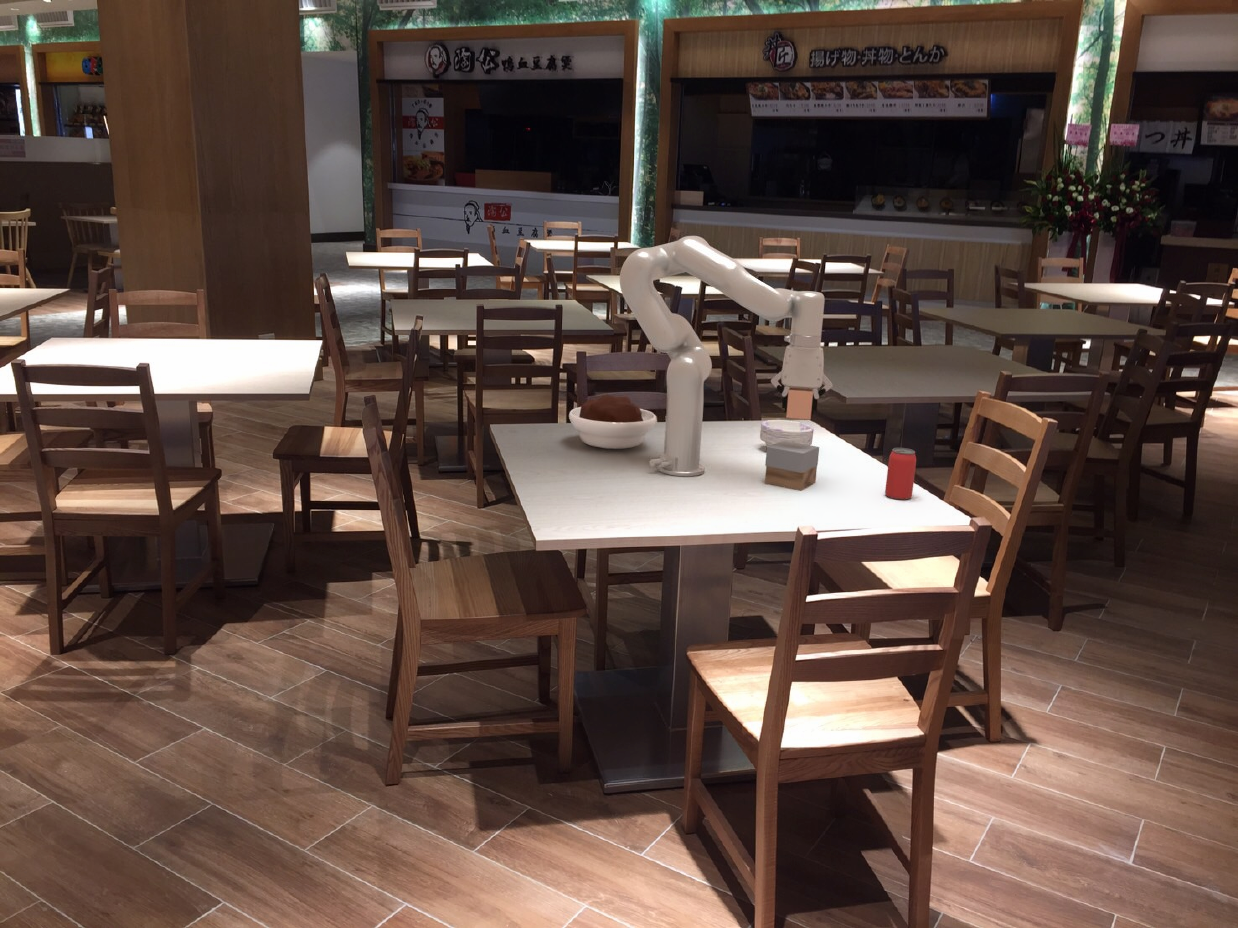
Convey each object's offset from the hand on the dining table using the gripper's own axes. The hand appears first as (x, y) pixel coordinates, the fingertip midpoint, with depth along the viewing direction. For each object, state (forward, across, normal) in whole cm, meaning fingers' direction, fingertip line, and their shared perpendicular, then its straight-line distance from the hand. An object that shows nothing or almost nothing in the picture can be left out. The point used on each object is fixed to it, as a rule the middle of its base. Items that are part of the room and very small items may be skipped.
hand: (799, 411), depth 260 cm
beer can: (+19, +26, -3) cm, 33 cm away
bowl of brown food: (+19, -53, +23) cm, 60 cm away
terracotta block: (+1, 0, 0) cm, 1 cm away
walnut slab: (+19, -1, 0) cm, 19 cm away
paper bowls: (+19, -3, +37) cm, 41 cm away
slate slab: (+14, -1, 0) cm, 14 cm away
